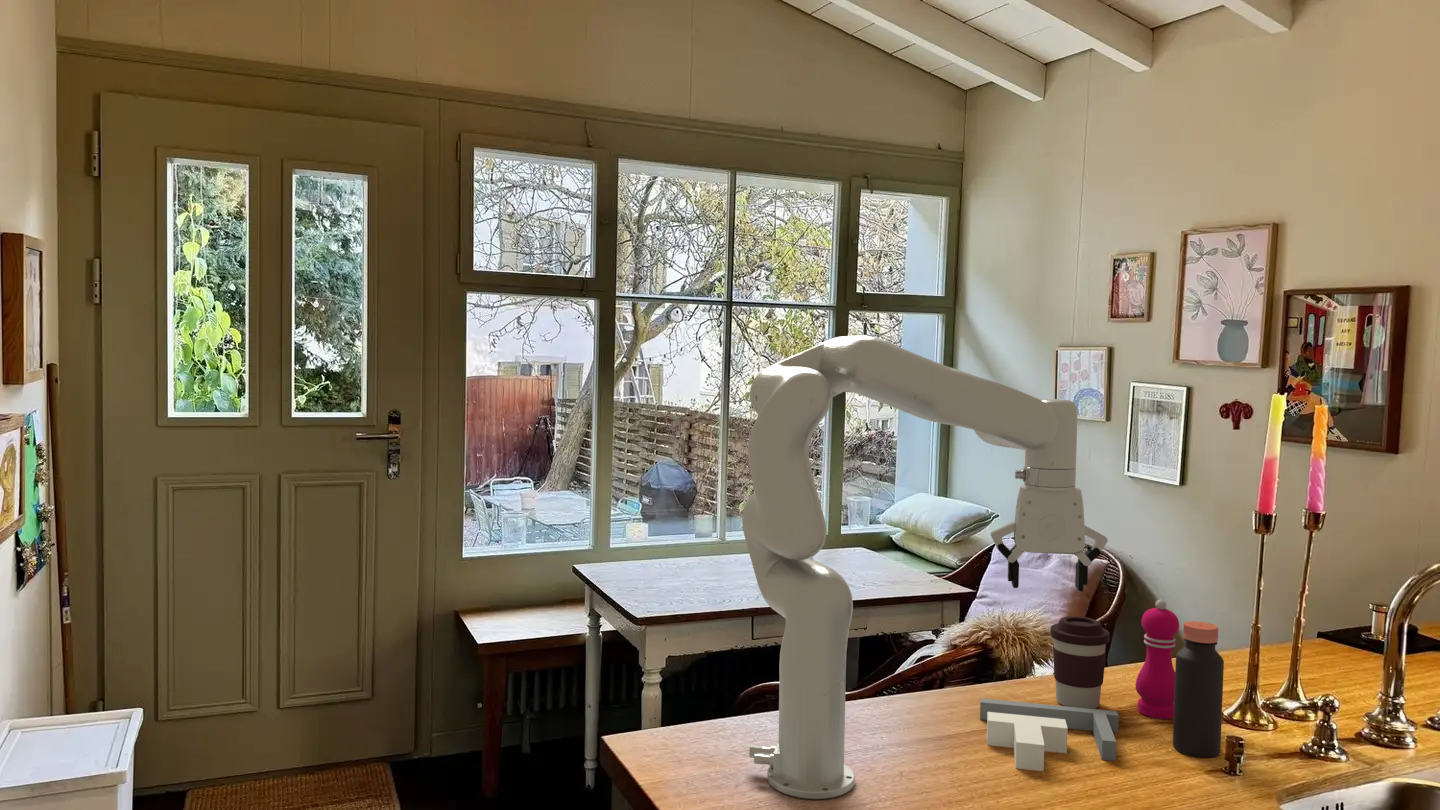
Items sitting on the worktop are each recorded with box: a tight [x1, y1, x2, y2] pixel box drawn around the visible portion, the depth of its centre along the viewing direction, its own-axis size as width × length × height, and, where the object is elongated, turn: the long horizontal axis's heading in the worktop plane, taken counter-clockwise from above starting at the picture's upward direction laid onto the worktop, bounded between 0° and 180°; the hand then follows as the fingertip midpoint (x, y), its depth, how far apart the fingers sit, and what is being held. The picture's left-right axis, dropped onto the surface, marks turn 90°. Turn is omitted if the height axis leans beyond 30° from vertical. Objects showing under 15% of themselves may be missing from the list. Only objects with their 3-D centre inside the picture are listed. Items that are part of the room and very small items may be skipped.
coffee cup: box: [1049, 615, 1111, 709], centre depth 175 cm, size 10×10×15 cm
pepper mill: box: [1135, 599, 1180, 720], centre depth 170 cm, size 7×7×20 cm
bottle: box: [1172, 620, 1225, 759], centre depth 154 cm, size 7×7×20 cm
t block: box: [986, 712, 1069, 772], centre depth 152 cm, size 12×12×4 cm
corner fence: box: [979, 697, 1120, 762], centre depth 159 cm, size 22×14×3 cm, turn 76°
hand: (1046, 587), depth 153 cm, fingers open, 9 cm apart
